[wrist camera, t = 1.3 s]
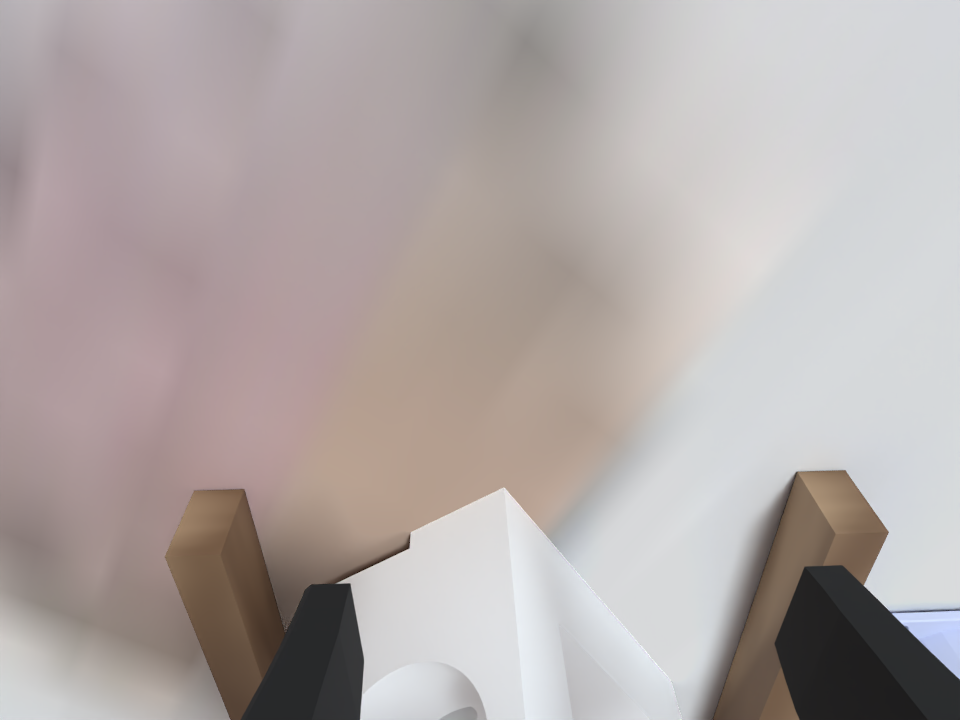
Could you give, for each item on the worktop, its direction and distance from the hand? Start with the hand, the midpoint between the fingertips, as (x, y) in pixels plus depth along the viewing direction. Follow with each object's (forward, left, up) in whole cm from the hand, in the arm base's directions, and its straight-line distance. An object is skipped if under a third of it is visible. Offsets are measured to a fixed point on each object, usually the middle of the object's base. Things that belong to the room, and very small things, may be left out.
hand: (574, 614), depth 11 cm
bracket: (0, +13, -9) cm, 16 cm away
